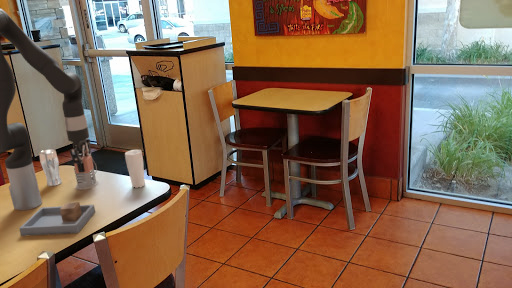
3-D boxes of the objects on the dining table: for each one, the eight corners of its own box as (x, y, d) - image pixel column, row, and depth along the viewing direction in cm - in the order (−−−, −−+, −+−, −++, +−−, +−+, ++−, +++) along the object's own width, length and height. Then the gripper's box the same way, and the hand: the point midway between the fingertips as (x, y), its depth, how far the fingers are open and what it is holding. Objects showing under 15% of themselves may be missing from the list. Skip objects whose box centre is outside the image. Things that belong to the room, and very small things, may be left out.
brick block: (75, 173, 173) (73, 160, 172) (80, 168, 178) (78, 156, 176) (88, 172, 173) (86, 160, 171) (93, 167, 178) (91, 155, 176)
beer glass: (47, 182, 204) (39, 150, 199) (63, 179, 205) (56, 148, 201) (45, 188, 197) (37, 155, 193) (62, 185, 199) (55, 152, 194)
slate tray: (21, 236, 156) (19, 228, 155) (43, 214, 171) (41, 207, 170) (78, 233, 155) (76, 225, 154) (95, 211, 170) (93, 204, 169)
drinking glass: (142, 189, 188) (137, 154, 183) (127, 189, 189) (121, 155, 185) (149, 182, 194) (144, 149, 189) (134, 182, 195) (129, 149, 191)
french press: (87, 179, 203) (76, 125, 196) (107, 182, 198) (96, 127, 190) (70, 188, 195) (58, 132, 187) (90, 191, 190) (78, 133, 182)
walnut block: (62, 221, 162) (59, 209, 161) (68, 215, 167) (65, 203, 166) (76, 221, 162) (73, 208, 161) (82, 214, 167) (79, 202, 165)
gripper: (79, 132, 163) (87, 176, 168) (93, 121, 177) (100, 162, 182) (58, 133, 163) (67, 177, 169) (74, 122, 177) (82, 163, 182)
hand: (84, 169), depth 175 cm, fingers closed on brick block, 5 cm apart
